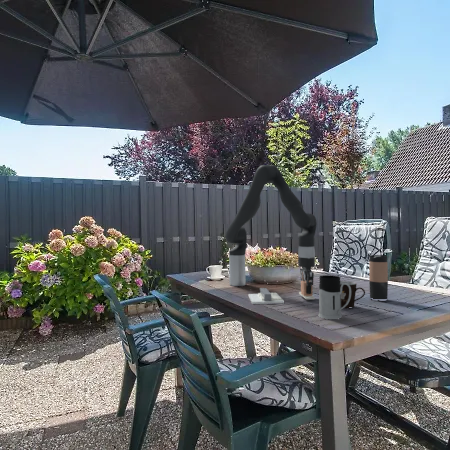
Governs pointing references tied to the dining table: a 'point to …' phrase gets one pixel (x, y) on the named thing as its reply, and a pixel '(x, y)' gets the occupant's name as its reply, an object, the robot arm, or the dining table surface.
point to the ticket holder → (265, 297)
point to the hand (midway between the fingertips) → (306, 292)
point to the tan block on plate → (303, 291)
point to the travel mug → (378, 276)
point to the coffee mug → (346, 293)
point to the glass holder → (331, 297)
